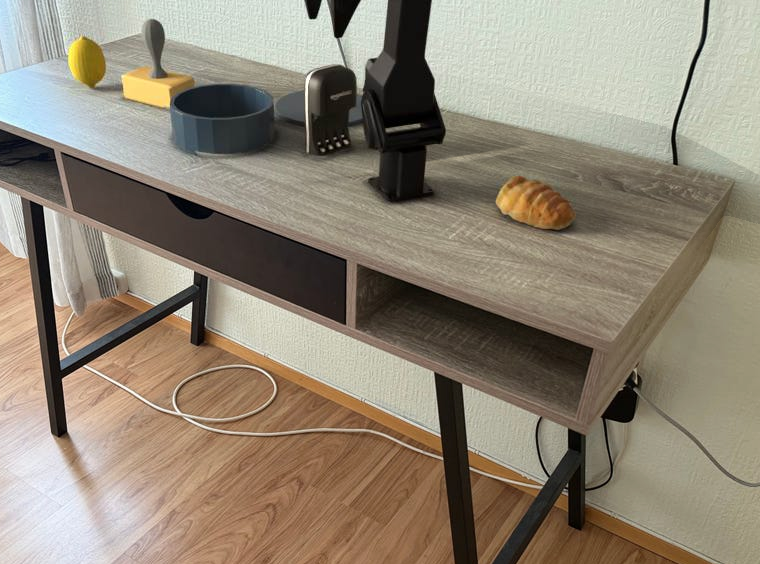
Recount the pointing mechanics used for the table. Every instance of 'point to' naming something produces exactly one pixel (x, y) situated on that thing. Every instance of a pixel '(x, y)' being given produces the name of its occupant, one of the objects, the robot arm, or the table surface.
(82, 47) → the lemon
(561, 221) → the pastry
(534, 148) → the table surface
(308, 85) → the battery charger
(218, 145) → the tin
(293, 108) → the tin lid
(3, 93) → the table surface
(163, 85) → the rubber stamp
